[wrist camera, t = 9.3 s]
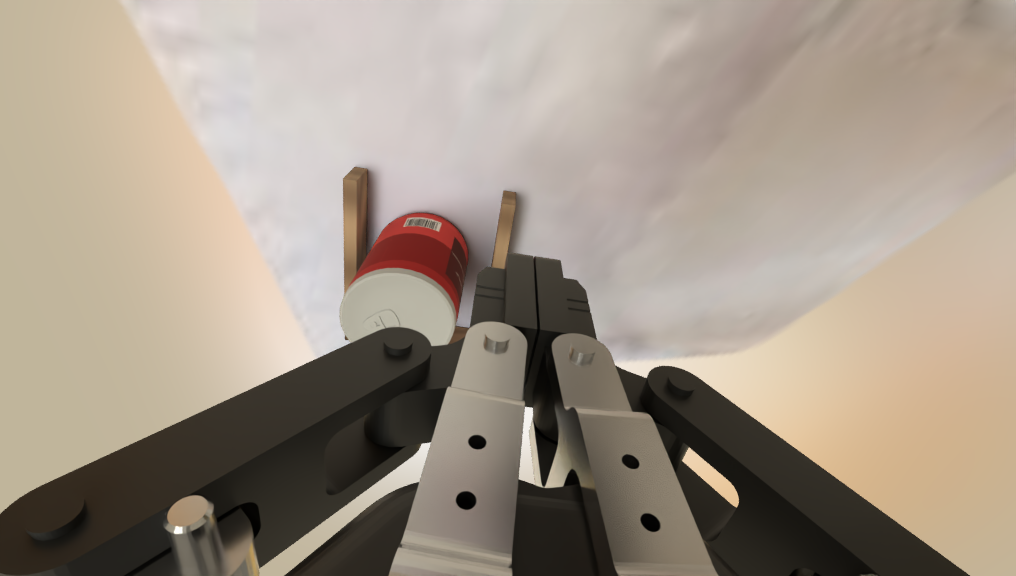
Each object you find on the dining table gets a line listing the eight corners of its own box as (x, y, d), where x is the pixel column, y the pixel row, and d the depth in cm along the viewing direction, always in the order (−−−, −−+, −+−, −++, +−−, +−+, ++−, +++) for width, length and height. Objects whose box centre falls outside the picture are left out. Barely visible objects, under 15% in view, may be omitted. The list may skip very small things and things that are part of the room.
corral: (354, 166, 39) (343, 178, 36) (515, 192, 40) (515, 205, 37) (354, 320, 46) (345, 339, 44) (490, 339, 47) (488, 359, 45)
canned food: (359, 238, 42) (314, 307, 33) (434, 191, 40) (408, 250, 30) (414, 302, 45) (386, 382, 36) (486, 262, 43) (477, 336, 34)
